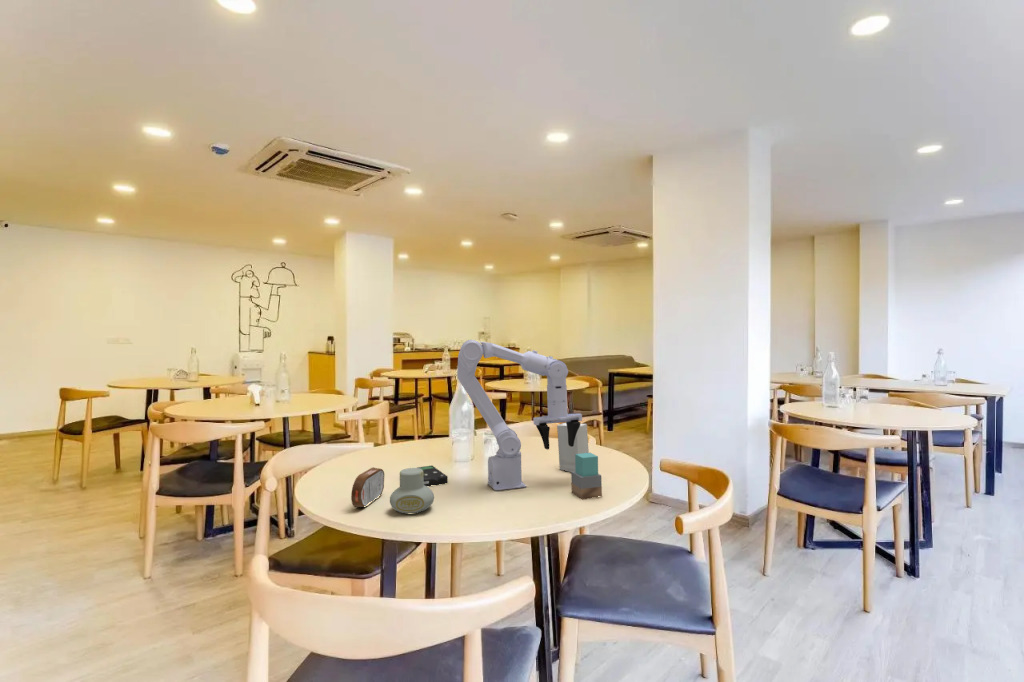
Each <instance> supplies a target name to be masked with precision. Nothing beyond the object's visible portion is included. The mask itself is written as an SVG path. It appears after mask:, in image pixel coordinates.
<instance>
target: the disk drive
mask: <svg viewBox="0 0 1024 682" xmlns="http://www.w3.org/2000/svg"><path fill="white" fill-rule="evenodd" d="M416 468H420V469H422V470H423V477H424V485H425V486H429V487H432V486H431V485H436V486H440V485H439V484H442V485H446V484H445V483H448V482H449V479H448V475H446V474H444V473H443V472H442V471H441V470H439V469H438V468H436V466H434V465H426V466H418V467H416ZM448 484H449V483H448Z"/></svg>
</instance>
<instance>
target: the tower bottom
mask: <svg viewBox="0 0 1024 682" xmlns="http://www.w3.org/2000/svg"><path fill="white" fill-rule="evenodd" d="M602 490H603V487H594V488H586V489H580V488H579V487H577V486H576V485H574V484H573V483H572V482H571V494H572V495H573V496H576V497H577V498H579V499H580V500H587V498H589V499H593V498H592V497H596V498H599V497H598V496H602V497H603V491H602Z"/></svg>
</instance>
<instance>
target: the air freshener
mask: <svg viewBox="0 0 1024 682" xmlns="http://www.w3.org/2000/svg"><path fill="white" fill-rule="evenodd" d="M434 500H435V493H434V492H433V490H432V489H431V488H430V487H427V486H425V485H424V477H423V470H422V469H420V468H417V467H410V468H405V469H401V471H400V472H399V487H397V488H396V489H395V490H394V491H392V493H391V494H390V496H389V504H390V506H391V508H392V509H394V511H397V512H399V513H401V514H404V513H416V514H418V513H417V512H419V513H422V512H423V511H426V510H427V509H428V508H429V507H430V506H431V505H432V504H433V503H434ZM421 511H422V512H421Z"/></svg>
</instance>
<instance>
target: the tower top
mask: <svg viewBox="0 0 1024 682" xmlns="http://www.w3.org/2000/svg"><path fill="white" fill-rule="evenodd" d="M570 473H571V474H570V475H571V476H570V477H571V483H573V484H574V485H576V486H577V487H579V488H580V489H586V488H594V487H602V474H600V473H598V475H594V476H586V477H582V476H581V475H579V474H577V473H576V471H575V472H570ZM602 488H603V487H602Z"/></svg>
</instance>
